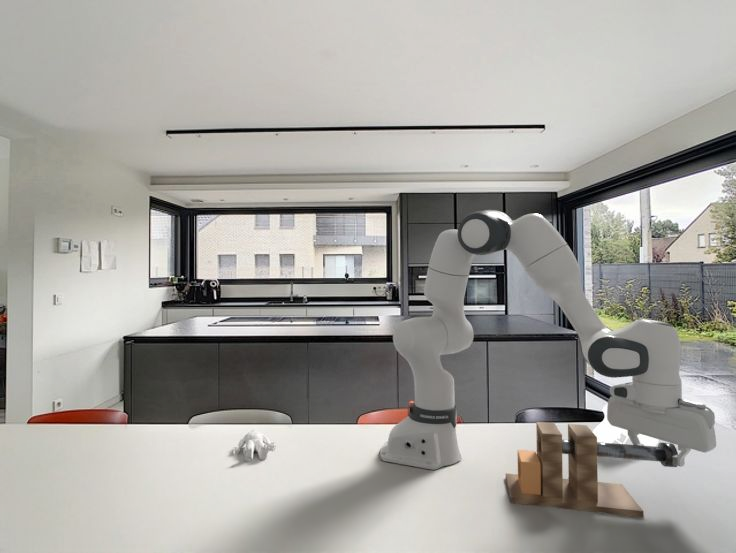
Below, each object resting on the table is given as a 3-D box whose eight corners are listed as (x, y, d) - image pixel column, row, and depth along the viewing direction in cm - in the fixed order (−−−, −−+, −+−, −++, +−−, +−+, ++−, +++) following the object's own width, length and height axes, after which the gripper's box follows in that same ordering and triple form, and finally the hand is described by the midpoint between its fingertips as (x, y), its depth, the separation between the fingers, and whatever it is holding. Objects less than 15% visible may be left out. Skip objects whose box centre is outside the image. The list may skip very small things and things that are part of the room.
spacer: (521, 493, 94) (521, 461, 94) (517, 478, 101) (517, 449, 101) (540, 495, 93) (540, 463, 93) (535, 480, 100) (535, 451, 100)
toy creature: (233, 449, 112) (232, 425, 123) (233, 469, 113) (232, 443, 124) (279, 444, 116) (274, 420, 127) (278, 463, 117) (273, 438, 128)
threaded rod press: (511, 502, 92) (510, 434, 92) (505, 478, 104) (505, 417, 104) (643, 517, 86) (642, 443, 87) (622, 489, 98) (621, 424, 98)
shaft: (549, 460, 94) (548, 438, 94) (545, 451, 98) (544, 431, 99) (678, 471, 88) (678, 448, 88) (667, 461, 93) (667, 439, 93)
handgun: (587, 445, 117) (613, 403, 118) (581, 441, 120) (607, 400, 121) (636, 479, 118) (661, 438, 120) (629, 475, 121) (654, 434, 122)
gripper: (721, 403, 84) (723, 473, 83) (618, 383, 101) (619, 440, 101) (706, 408, 80) (707, 481, 80) (602, 386, 98) (603, 445, 98)
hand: (657, 458), depth 91 cm, fingers closed on shaft, 6 cm apart
